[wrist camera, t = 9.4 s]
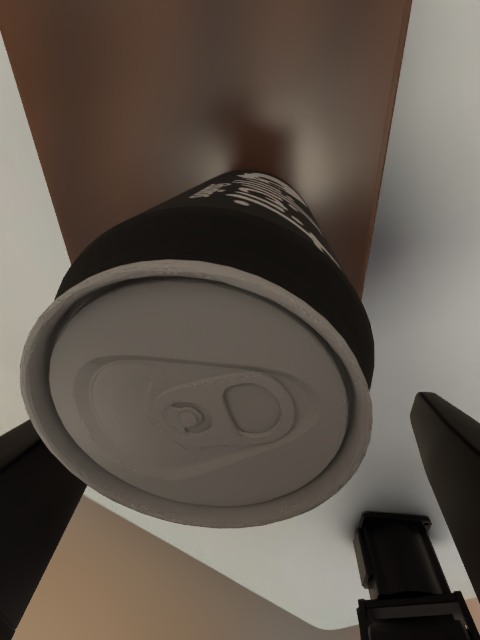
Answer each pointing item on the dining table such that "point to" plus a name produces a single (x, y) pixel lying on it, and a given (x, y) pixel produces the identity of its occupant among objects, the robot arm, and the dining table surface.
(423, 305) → the dining table surface
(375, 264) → the dining table surface
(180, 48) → the walnut block
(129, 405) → the beverage can
